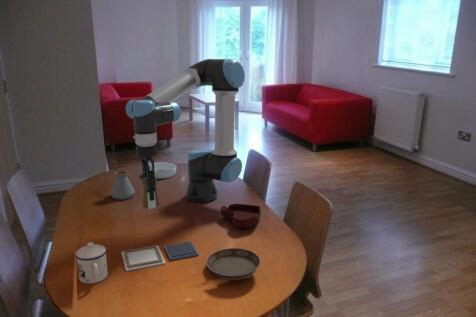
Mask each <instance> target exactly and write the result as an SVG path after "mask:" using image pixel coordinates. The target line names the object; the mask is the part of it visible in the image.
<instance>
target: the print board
mask: <svg viewBox="0 0 476 317" xmlns="http://www.w3.org/2000/svg"><path fill="white" fill-rule="evenodd" d="M121 256H122V260H123V265H124V268H125V272H130V271H135V270H139V269H140V270H141V269H144V268H145V269H146V268H150V267H157V266H161V265H166V260H165V258H164V255H163V254H162V251H161V249H160V247H159V245H149V246H143V247H138V248H132V249H126V250H123V251H121Z"/></svg>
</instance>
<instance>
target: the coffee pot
mask: <svg viewBox="0 0 476 317" xmlns="http://www.w3.org/2000/svg"><path fill="white" fill-rule="evenodd" d="M111 165H113V167H114V169H115V172H114V176H115V180H114V183H113V185H112V188H111V190H110V192H109V194H110V196H111V198H113V199H115V200H118V201H119V200H120V201H122V200H129V199H131V198H133V196H134V195H135V193H136V191H135V189H134V187H133V184H132V183H131V181H130V179H129V177H128V175H129V171H127V170H119V169H118V166H117V165H116V161H114V160H112V162H111Z"/></svg>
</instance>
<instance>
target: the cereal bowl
mask: <svg viewBox="0 0 476 317" xmlns="http://www.w3.org/2000/svg"><path fill="white" fill-rule="evenodd" d="M154 166H155V167H154V172H155V178H156V180H157V179H159V180H160V179H161V180H163V179H168V178H171V177H174V175H175V174H176V173H177V165H176V164H174V163H172V162H165V161H164V162H163V161H162V162H161V161H160V162H154Z"/></svg>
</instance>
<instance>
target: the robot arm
mask: <svg viewBox="0 0 476 317" xmlns="http://www.w3.org/2000/svg"><path fill="white" fill-rule="evenodd" d="M245 75H246V74H245V70H244V67H243V65H242V64H241V62H240V61H238V60H236V59H230V58H226V59H225V58H223V59H222V58H206V59H204V60H201V61H198V62H196V63H194V64H192V65H190V66H188V67H187V68H185V69H184V70H183V72H182V73H181V74H180V75H178V76H176V77H175V78H173V79H171V80H169V81H168V82H167V83H165V84H163V85H161V86H160V87H158V88H156V89H155V90H153V91H152V92H150V93H149V94H147V95H145V96H144V97H141V98H139V99H137V98H136V99H130V100H129V101H128V102H127V103H126V106H125V112H126V115H127V117H129V119H133V127H134V128H133V130H134V135H133V137H132V138H133V139H134V142H135V144H136V145H135V153H136V156H137V157H140V159H141V160H140V162H141V168H142V169H141V170H142V179H143V178H144V177H146V180H147V188H148V190H147V191H146V193H147V197H148V208H147V209H148V210H149V209H156V208H157V207H156V199H155V191H157V187H156V185H157V184H156V185H155V172H154V167H155V166H154V163H155V160H154V159H153V157H154V156H157V155H158V145H157V143H158V136H157V134H158V133H157V126H161V125H165V124H169V123H170V124H171V123H174V122H177V121H178V120H179V119H180V117H181V114H182V111H181V107H180V105H179V103H177V102H176V101H175V100H178V98H181V97H182V96H184V95H185V94H186V93H188V92H190V91H191V90H197V89H199V88H200V87H206V86H207V87H209V86H210V87H211V91H212V93H213V94H214V96H215V97H214V98H215V101H214V103H215V105H214V106H215V107H214V108H215V110H214V116H215V117H214V148H213V149H212V148H199V149H195V150H194V149H193V150H190V151H189V152H188V154H187V170H188V184H187V187H186V190H185V198H186V200H189V201H190V202H191V201H192V202H198V203H199V202H200V203H202V202H210V201H213V200H215V199H216V198H217V197H218V190H217V188H216V185H215V182H214V180H215V181H219V182H222V183H231V184H232V183H234V182H235V181H236V180H238V178H239V176H240V175H241V173H242V168H243V163H242V159H240V158H239V157H238V151H237V150H236V149H235V112H236V111H235V109H236V95H237V94H238V93H239V91H240V90H239V89H240V88H241V87H242V86H243V85H244V82H245V80H246V79H245V77H246V76H245Z"/></svg>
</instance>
